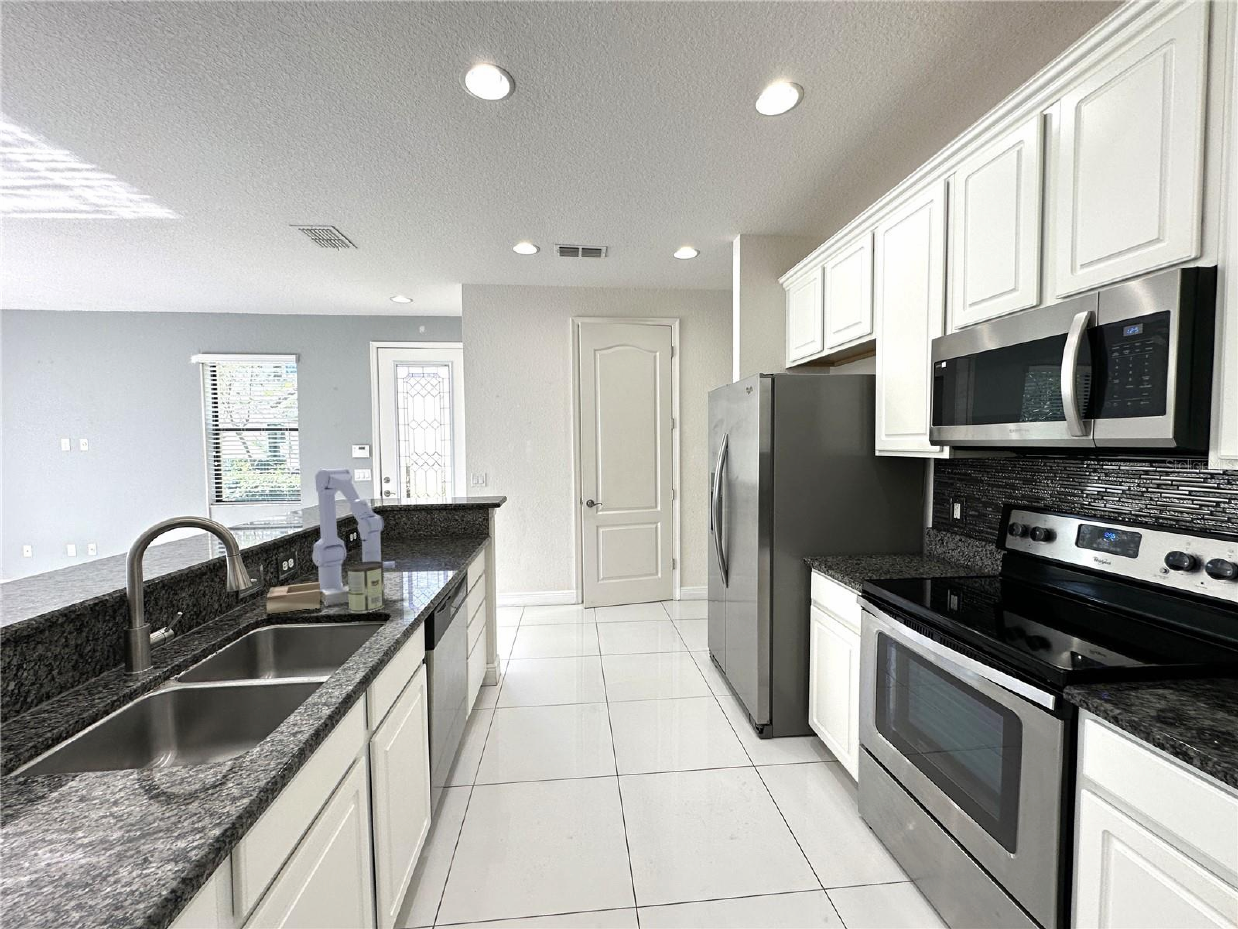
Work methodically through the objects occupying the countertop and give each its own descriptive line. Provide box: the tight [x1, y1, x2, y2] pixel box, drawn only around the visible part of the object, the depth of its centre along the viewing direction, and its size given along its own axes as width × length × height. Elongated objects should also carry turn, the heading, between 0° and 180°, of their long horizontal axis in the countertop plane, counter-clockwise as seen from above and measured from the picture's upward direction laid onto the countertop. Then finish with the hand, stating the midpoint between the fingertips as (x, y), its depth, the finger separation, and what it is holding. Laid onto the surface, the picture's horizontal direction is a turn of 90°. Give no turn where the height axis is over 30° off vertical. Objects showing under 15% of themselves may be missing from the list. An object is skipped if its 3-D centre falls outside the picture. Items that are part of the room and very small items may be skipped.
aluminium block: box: [320, 585, 349, 607], centre depth 174 cm, size 8×10×4 cm
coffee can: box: [346, 561, 385, 614], centre depth 165 cm, size 10×10×14 cm
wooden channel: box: [266, 581, 321, 614], centre depth 168 cm, size 13×14×6 cm
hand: (372, 590), depth 179 cm, fingers closed
